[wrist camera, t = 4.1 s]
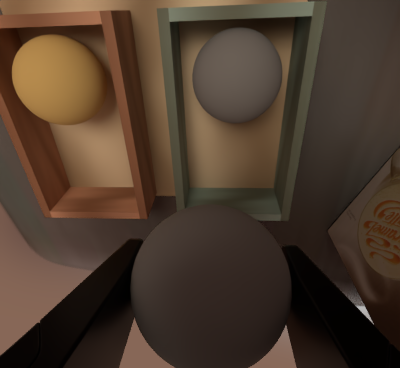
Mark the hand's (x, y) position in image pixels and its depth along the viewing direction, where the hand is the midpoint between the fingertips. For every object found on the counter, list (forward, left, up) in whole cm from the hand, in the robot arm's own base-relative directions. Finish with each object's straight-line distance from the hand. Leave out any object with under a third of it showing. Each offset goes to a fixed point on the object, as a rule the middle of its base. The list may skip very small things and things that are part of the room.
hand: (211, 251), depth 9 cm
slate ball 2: (0, 0, -1) cm, 1 cm away
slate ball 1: (-1, -4, -10) cm, 11 cm away
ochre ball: (+8, -4, -10) cm, 14 cm away
